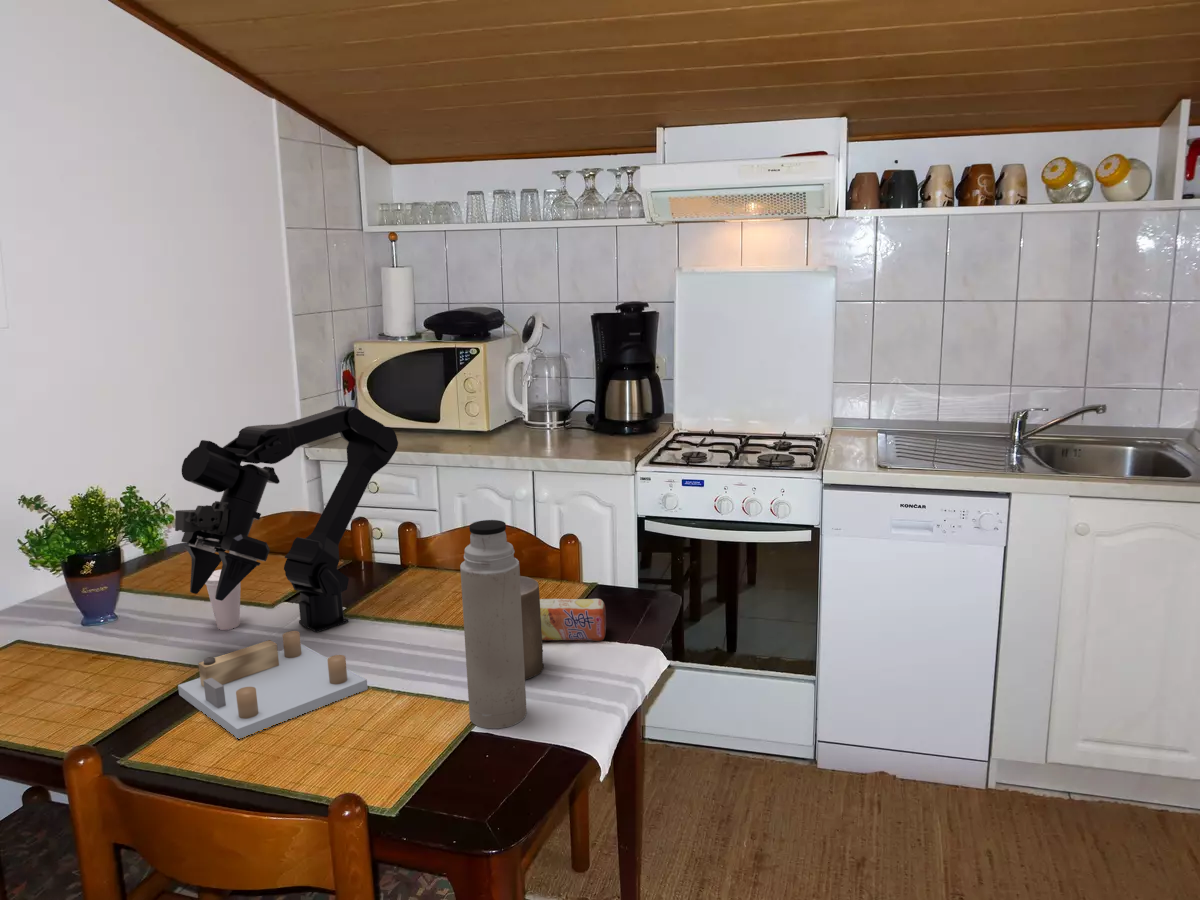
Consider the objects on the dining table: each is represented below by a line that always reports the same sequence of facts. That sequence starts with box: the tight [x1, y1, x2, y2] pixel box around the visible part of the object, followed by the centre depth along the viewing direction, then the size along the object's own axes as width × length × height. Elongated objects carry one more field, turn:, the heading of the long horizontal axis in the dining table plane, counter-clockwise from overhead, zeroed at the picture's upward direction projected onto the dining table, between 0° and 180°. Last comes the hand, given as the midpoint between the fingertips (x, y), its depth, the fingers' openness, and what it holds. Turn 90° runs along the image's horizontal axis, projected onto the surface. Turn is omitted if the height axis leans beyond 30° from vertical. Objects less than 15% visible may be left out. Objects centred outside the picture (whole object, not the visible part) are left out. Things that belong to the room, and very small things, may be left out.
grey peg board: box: [177, 630, 368, 740], centre depth 140 cm, size 20×20×5 cm
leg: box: [198, 639, 279, 687], centre depth 143 cm, size 11×2×4 cm, turn 135°
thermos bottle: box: [459, 519, 527, 730], centre depth 129 cm, size 8×8×28 cm
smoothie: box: [205, 562, 242, 631], centre depth 166 cm, size 6×6×14 cm
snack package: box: [540, 598, 607, 642], centre depth 158 cm, size 21×7×7 cm, turn 88°
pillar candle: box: [520, 575, 545, 680], centre depth 145 cm, size 10×10×15 cm
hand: (205, 596), depth 146 cm, fingers open, 9 cm apart
